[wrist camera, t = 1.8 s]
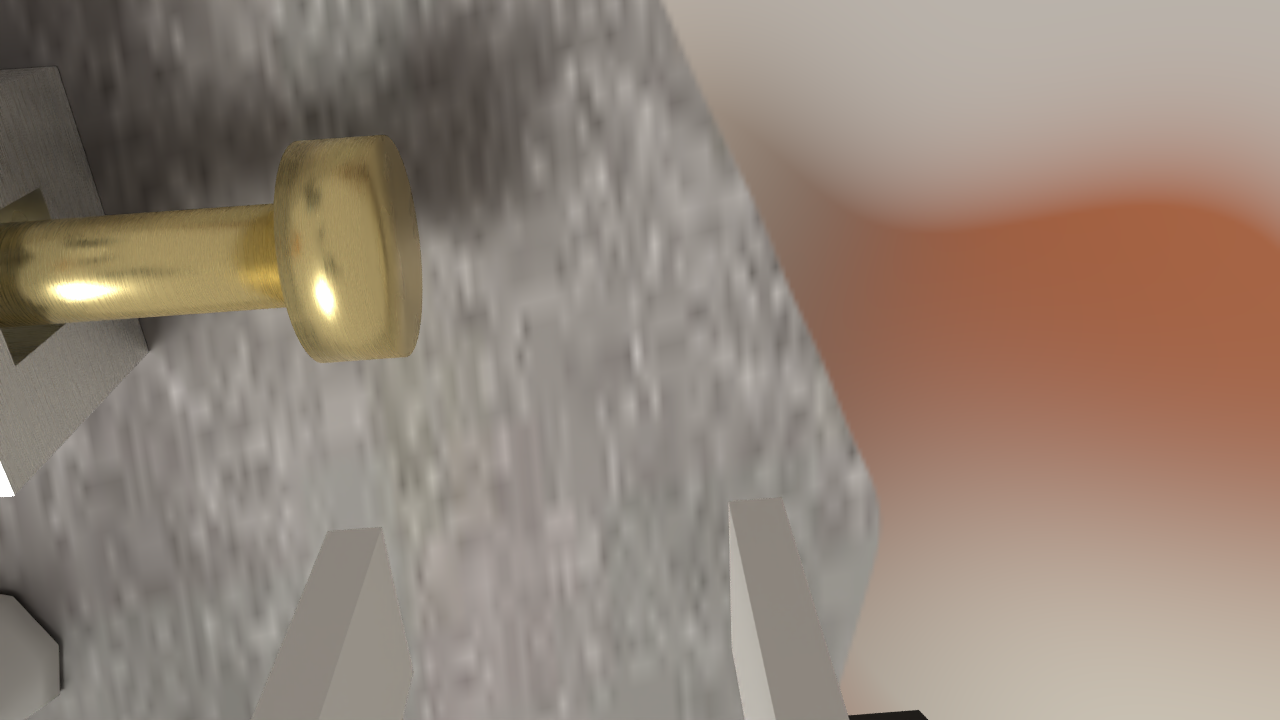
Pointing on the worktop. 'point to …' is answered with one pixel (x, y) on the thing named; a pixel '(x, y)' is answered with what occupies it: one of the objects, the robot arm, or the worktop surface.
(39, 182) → the block
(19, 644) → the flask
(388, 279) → the pin
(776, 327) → the worktop surface
